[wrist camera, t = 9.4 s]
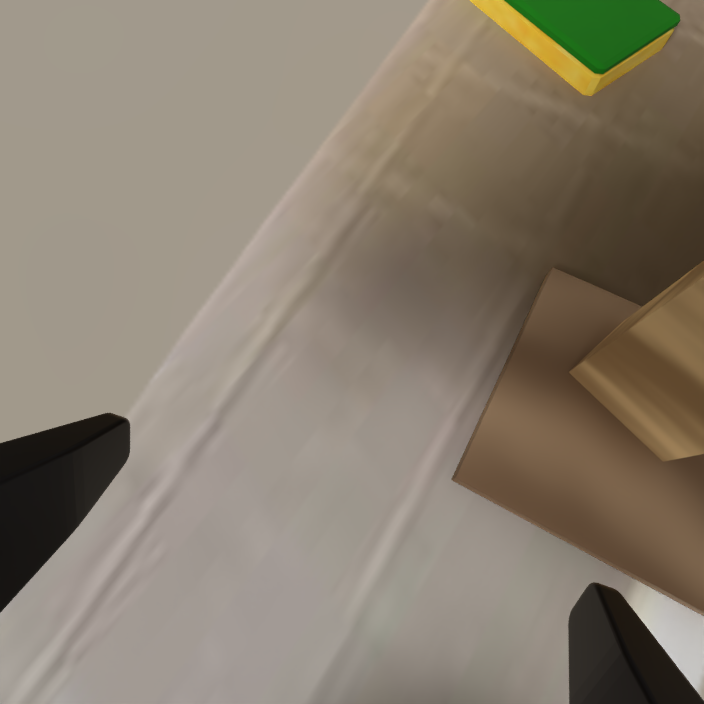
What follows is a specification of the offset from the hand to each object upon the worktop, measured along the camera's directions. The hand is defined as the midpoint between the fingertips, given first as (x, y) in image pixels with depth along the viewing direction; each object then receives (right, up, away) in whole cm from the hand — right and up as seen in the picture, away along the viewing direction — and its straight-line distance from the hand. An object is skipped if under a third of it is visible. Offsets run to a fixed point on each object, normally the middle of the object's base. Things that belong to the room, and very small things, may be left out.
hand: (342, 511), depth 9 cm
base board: (+13, -1, +14) cm, 19 cm away
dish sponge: (+14, +26, +24) cm, 38 cm away
